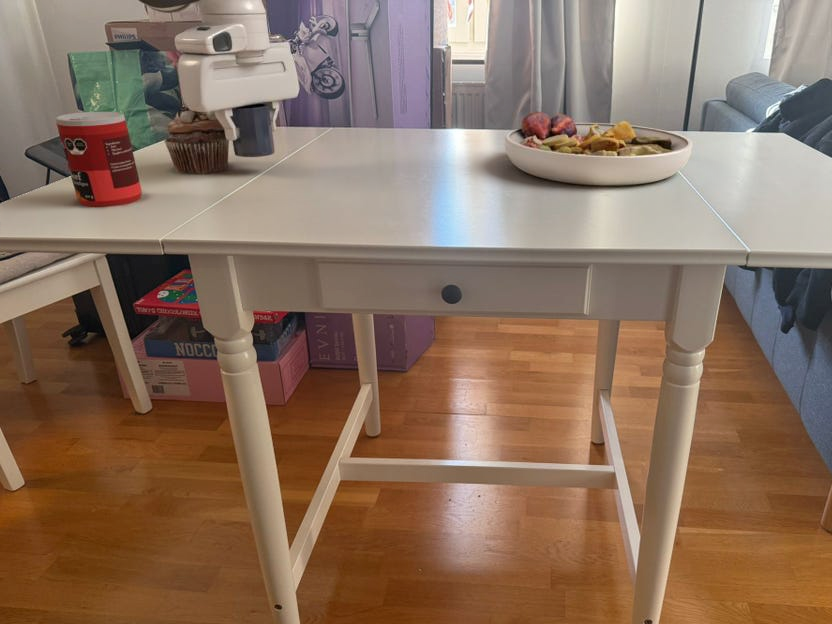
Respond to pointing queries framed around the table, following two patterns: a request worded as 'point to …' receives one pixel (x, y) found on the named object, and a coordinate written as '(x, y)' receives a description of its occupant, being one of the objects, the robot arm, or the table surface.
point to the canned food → (100, 158)
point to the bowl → (595, 151)
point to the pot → (253, 131)
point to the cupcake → (197, 142)
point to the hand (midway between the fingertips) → (251, 135)
